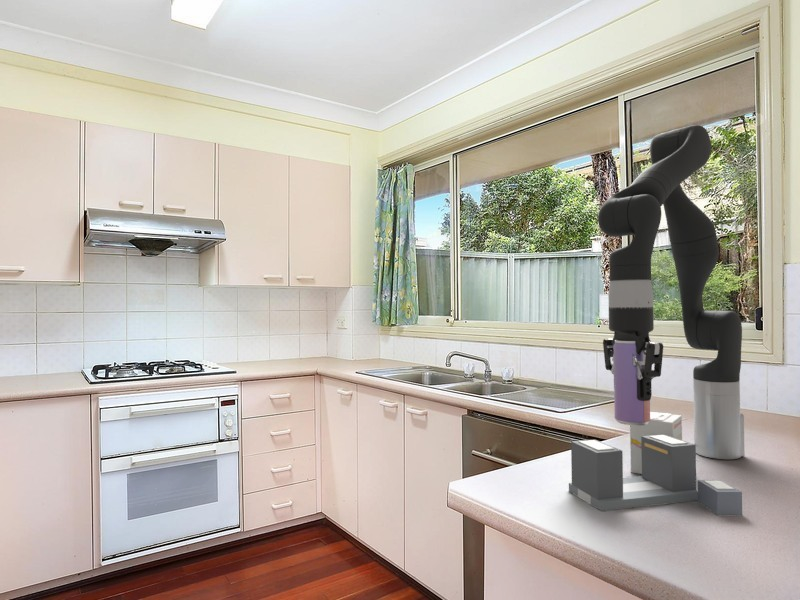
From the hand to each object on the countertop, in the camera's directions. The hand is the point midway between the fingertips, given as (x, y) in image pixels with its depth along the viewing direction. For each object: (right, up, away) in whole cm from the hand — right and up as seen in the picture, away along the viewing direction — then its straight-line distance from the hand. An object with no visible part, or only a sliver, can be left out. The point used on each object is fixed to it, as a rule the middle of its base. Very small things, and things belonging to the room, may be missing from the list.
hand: (631, 397), depth 97 cm
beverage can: (0, -5, 0) cm, 5 cm away
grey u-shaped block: (0, -18, 0) cm, 18 cm away
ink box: (+11, -18, +14) cm, 25 cm away
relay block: (+12, -18, -7) cm, 23 cm away
